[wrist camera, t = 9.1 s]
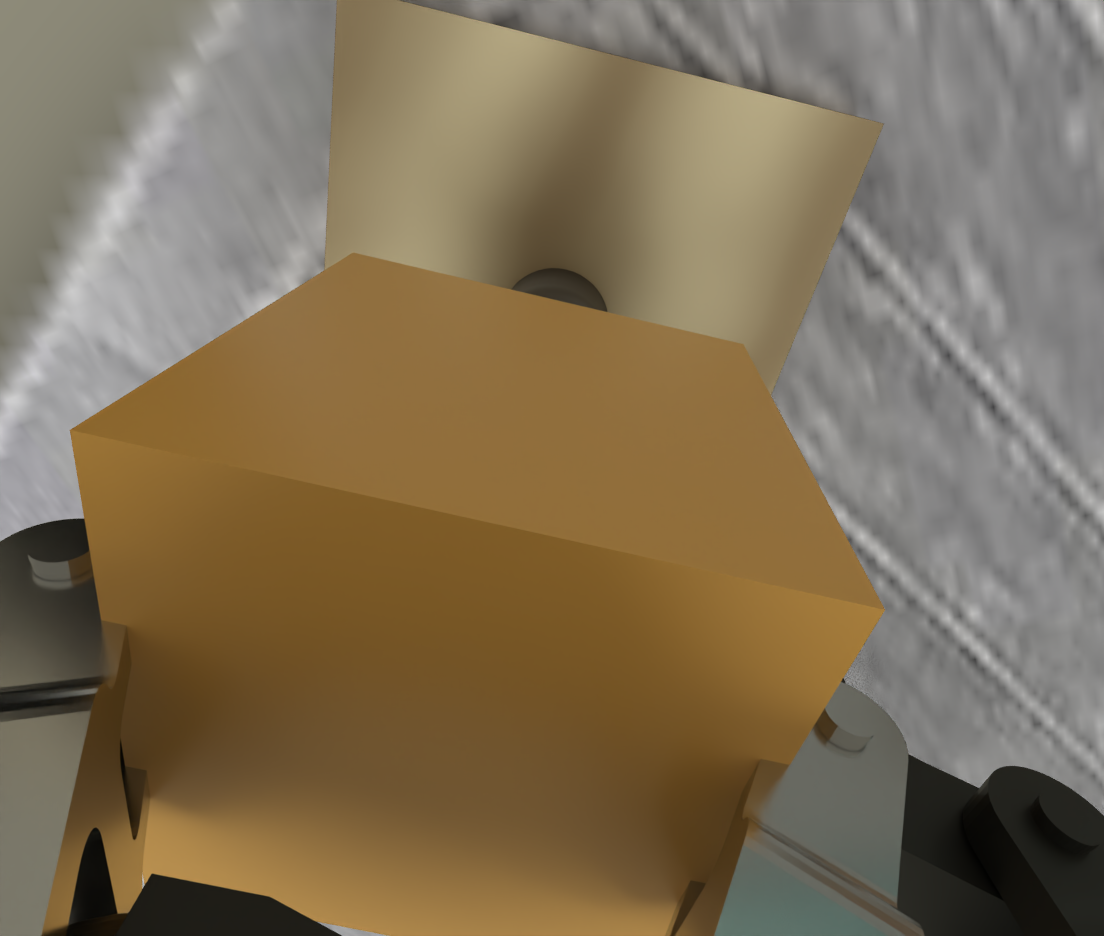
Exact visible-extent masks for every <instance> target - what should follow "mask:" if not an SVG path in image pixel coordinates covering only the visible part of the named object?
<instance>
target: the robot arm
mask: <svg viewBox="0 0 1104 936" xmlns="http://www.w3.org/2000/svg"><path fill="white" fill-rule="evenodd" d="M131 665H132V661H131V654H130V647H129V639H128V632H127V625H122V624H117V623H112V622H108V621H103V620H101V616H100V610H99V604H98V598H97V592H96V586H95V580H94V574H93V568H92V561H91V555H90V549H89V543H88V537H87V531H86V525H85V519H64V520H58V521H51V522H47V523H43V524H39V525H35V526H32V527H29V528H26V529H24V530H21V531H19V532H17V533H14V534H12V535H11V536H9V537H7V538H5V539H4V540H2V541H1V542H0V936H341V935H340V934H338V933H336V932H334V931H332V930H330V929H328V928H327V927H325V926H323V925H321V924H319V923H317V922H316V921H314V920H312V919H310V918H308V917H306V916H305V915H303V914H301V913H299V912H297V911H295V910H294V909H292V908H290V907H288V906H286V905H284V904H282V903H281V902H279V901H277V900H275V899H273V898H271V897H269V896H264V895H259V894H254V893H249V892H244V891H239V890H233V889H228V888H223V887H218V886H213V885H208V884H203V883H198V882H193V881H188V880H183V879H178V878H172V877H167V876H162V875H157V874H151V875H150V877H149V879H148V881H147V882H146V884H145V886H144V887H143V889H142V870H143V856H144V847H145V838H146V830H147V822H148V814H149V806H150V791H149V784H148V777H147V770H142V769H137V768H132V767H127V766H125V762H124V756H123V750H122V744H121V738H120V736H121V724H122V716H123V710H124V704H125V699H126V693H127V687H128V682H129V676H130V671H131ZM665 936H1104V816H1103V815H1102V814H1101V813H1100V812H1099V811H1098V810H1097V809H1096V808H1095V807H1094V806H1093V805H1091V804H1090V803H1089V802H1088V801H1087V800H1085V799H1084V798H1083V797H1081V796H1080V795H1079V794H1077V793H1076V792H1075V791H1073V790H1072V789H1070V788H1069V787H1067V786H1065V785H1064V784H1062V783H1061V782H1059V781H1057V780H1055V779H1053V778H1051V777H1049V776H1047V775H1045V774H1042V773H1040V772H1038V771H1035V770H1031V769H1028V768H1024V767H1018V766H1006V767H1001V768H999V769H997V770H995V771H994V772H993V773H992V774H991V775H990V776H989V778H988V779H987V780H986V781H985V782H984V783H983V785H982V786H981V787H980V788H977V787H975V786H973V785H971V784H969V783H967V782H965V781H963V780H960V779H958V778H956V777H954V776H952V775H950V774H948V773H946V772H944V771H941V770H939V769H937V768H935V767H933V766H931V765H929V764H927V763H924V762H922V761H920V760H918V759H917V758H915V757H913V756H911V755H909V754H908V749H907V746H906V742H905V740H904V738H903V735H902V733H901V732H900V730H899V728H898V727H897V725H896V724H895V722H894V721H893V720H892V719H891V717H890V716H889V715H888V714H887V713H886V712H885V711H884V710H883V709H882V708H881V707H880V706H879V705H878V704H877V703H875V702H874V701H873V700H872V699H870V698H869V697H868V696H866V695H865V694H863V693H862V692H860V691H859V690H857V689H855V688H853V687H852V686H849V685H847V684H846V683H845V681H844V678H843V679H842V681H841V682H840V684H839V686H838V687H837V689H836V691H835V692H834V694H833V695H832V697H831V699H830V700H829V702H828V704H827V705H826V707H825V708H824V710H823V712H822V713H821V715H820V717H819V718H818V720H817V722H816V723H815V725H814V726H813V728H812V730H811V731H810V733H809V735H808V736H807V738H806V739H805V741H804V743H803V744H802V746H801V748H800V749H799V751H798V753H797V754H796V756H795V757H794V759H793V761H792V762H791V764H790V765H788V764H783V763H778V762H773V761H769V760H764V759H760V761H759V763H758V764H757V766H756V768H755V770H754V771H753V773H752V775H751V777H750V778H749V780H748V782H747V784H746V785H745V787H744V789H743V791H742V793H741V796H740V799H739V802H738V805H737V808H736V811H735V814H734V816H733V819H732V822H731V825H730V828H729V831H728V834H727V837H726V839H725V842H724V845H723V847H722V850H721V852H720V855H719V857H718V859H717V862H716V864H715V866H714V868H713V871H712V873H711V875H710V877H709V879H708V881H707V883H702V882H697V881H692V880H691V881H690V882H689V884H688V886H687V888H686V889H685V891H684V893H683V894H682V896H681V898H680V900H679V901H678V903H677V906H676V908H675V911H674V913H673V916H672V919H671V921H670V924H669V926H668V929H667V932H666V934H665Z"/></svg>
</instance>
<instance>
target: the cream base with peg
mask: <svg viewBox="0 0 1104 936" xmlns="http://www.w3.org/2000/svg"><path fill="white" fill-rule="evenodd" d="M883 125H884V124H883V123H879V122H875V121H871V120H867V119H863V118H859V117H855V116H852V115H848V114H844V113H840V112H836V111H832V110H828V109H824V108H820V107H816V106H812V105H808V104H804V103H800V102H797V101H793V100H789V99H785V98H781V97H777V96H773V95H769V94H765V93H761V92H757V91H753V90H749V89H745V88H742V87H738V86H734V85H730V84H726V83H722V82H718V81H714V80H710V79H706V78H702V77H698V76H694V75H690V74H686V73H683V72H679V71H675V70H671V69H667V68H663V67H659V66H655V65H651V64H647V63H643V62H639V61H635V60H631V59H628V58H624V57H620V56H616V55H612V54H608V53H604V52H600V51H596V50H592V49H588V48H584V47H580V46H576V45H573V44H569V43H565V42H561V41H557V40H553V39H549V38H545V37H541V36H537V35H533V34H529V33H525V32H521V31H517V30H514V29H510V28H506V27H502V26H498V25H494V24H490V23H486V22H482V21H478V20H474V19H470V18H466V17H462V16H459V15H455V14H451V13H447V12H443V11H439V10H435V9H431V8H427V7H423V6H419V5H415V4H411V3H407V2H404V1H400V0H337V10H336V32H335V53H334V75H333V96H332V118H331V139H330V161H329V182H328V204H327V225H326V247H325V268H324V270H326V269H327V268H329V267H331V266H332V265H334V264H335V263H337V262H339V261H340V260H342V259H343V258H345V257H347V256H348V255H350V254H351V253H358V254H362V255H366V256H370V257H375V258H379V259H383V260H388V261H392V262H396V263H400V264H405V265H409V266H413V267H417V268H422V269H426V270H430V271H434V272H439V273H443V274H447V275H451V276H456V277H460V278H464V279H468V280H473V281H477V282H481V283H485V284H490V285H494V286H498V287H502V288H507V289H511V290H515V291H519V292H524V293H528V294H532V295H536V296H541V297H545V298H549V299H553V300H558V301H562V302H566V303H570V304H575V305H579V306H583V307H587V308H592V309H596V310H600V311H604V312H609V313H613V314H617V315H622V316H626V317H630V318H634V319H639V320H643V321H647V322H651V323H656V324H660V325H664V326H668V327H673V328H677V329H681V330H685V331H690V332H694V333H698V334H702V335H707V336H711V337H715V338H719V339H724V340H728V341H732V342H736V343H741V344H744V346H745V348H746V350H747V352H748V354H749V356H750V358H751V359H752V361H753V363H754V365H755V367H756V369H757V371H758V373H759V374H760V376H761V378H762V380H763V382H764V384H765V386H766V388H767V389H768V391H769V393H770V395H771V394H772V391H773V389H774V387H775V384H776V382H777V379H778V377H779V375H780V372H781V370H782V367H783V365H784V363H785V360H786V358H787V355H788V353H789V351H790V348H791V346H792V343H793V341H794V339H795V336H796V334H797V331H798V329H799V327H800V324H801V322H802V319H803V317H804V315H805V312H806V310H807V307H808V305H809V303H810V300H811V298H812V295H813V293H814V291H815V288H816V286H817V283H818V281H819V279H820V276H821V274H822V271H823V269H824V266H825V264H826V262H827V259H828V257H829V254H830V252H831V250H832V247H833V245H834V242H835V240H836V238H837V235H838V233H839V230H840V228H841V226H842V223H843V221H844V218H845V216H846V214H847V211H848V209H849V206H850V204H851V202H852V199H853V197H854V194H855V192H856V190H857V187H858V185H859V182H860V180H861V178H862V175H863V173H864V170H865V168H866V166H867V163H868V161H869V158H870V156H871V154H872V151H873V149H874V146H875V144H876V141H877V139H878V137H879V134H880V132H881V129H882V127H883Z"/></svg>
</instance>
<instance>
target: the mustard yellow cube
mask: <svg viewBox="0 0 1104 936" xmlns="http://www.w3.org/2000/svg"><path fill="white" fill-rule="evenodd" d="M70 434H71V440H72V446H73V452H74V458H75V464H76V470H77V476H78V482H79V489H80V495H81V501H82V507H83V513H84V519H85V525H86V531H87V537H88V543H89V549H90V555H91V561H92V568H93V574H94V580H95V586H96V592H97V598H98V604H99V610H100V616H101V620H103V621H108V622H112V623H117V624H122V625H127V632H128V639H129V647H130V654H131V661H132V665H131V671H130V676H129V682H128V687H127V693H126V699H125V704H124V710H123V716H122V724H121V736H120V738H121V744H122V750H123V756H124V762H125V766H127V767H132V768H137V769H142V770H147V777H148V784H149V791H150V806H149V814H148V822H147V830H146V838H145V847H144V856H143V870H142V872H143V878H144V884H146V882H147V881H148V879H149V877H150V875H151V874H157V875H162V876H167V877H172V878H178V879H183V880H188V881H193V882H198V883H203V884H208V885H213V886H218V887H223V888H228V889H233V890H239V891H244V892H249V893H254V894H259V895H264V896H269V897H271V898H273V899H275V900H277V901H279V902H281V903H282V904H284V905H286V906H288V907H290V908H292V909H294V910H295V911H297V912H299V913H301V914H303V915H305V916H306V917H308V918H310V919H312V920H314V921H317V922H322V923H327V924H332V925H337V926H342V927H348V928H353V929H358V930H363V931H368V932H373V933H378V934H384V935H389V936H665V934H666V932H667V929H668V926H669V924H670V921H671V919H672V916H673V913H674V911H675V908H676V906H677V903H678V901H679V900H680V898H681V896H682V894H683V893H684V891H685V889H686V888H687V886H688V884H689V882H690V881H691V880H692V881H697V882H702V883H707V881H708V879H709V877H710V875H711V873H712V871H713V868H714V866H715V864H716V862H717V859H718V857H719V855H720V852H721V850H722V847H723V845H724V842H725V839H726V837H727V834H728V831H729V828H730V825H731V822H732V819H733V816H734V814H735V811H736V808H737V805H738V802H739V799H740V796H741V793H742V791H743V789H744V787H745V785H746V784H747V782H748V780H749V778H750V777H751V775H752V773H753V771H754V770H755V768H756V766H757V764H758V763H759V761H760V759H764V760H769V761H773V762H778V763H783V764H788V765H790V764H791V762H792V761H793V759H794V757H795V756H796V754H797V753H798V751H799V749H800V748H801V746H802V744H803V743H804V741H805V739H806V738H807V736H808V735H809V733H810V731H811V730H812V728H813V726H814V725H815V723H816V722H817V720H818V718H819V717H820V715H821V713H822V712H823V710H824V708H825V707H826V705H827V704H828V702H829V700H830V699H831V697H832V695H833V694H834V692H835V691H836V689H837V687H838V686H839V684H840V682H841V681H842V679H843V678H844V676H845V674H846V673H847V671H848V669H849V668H850V666H851V664H852V663H853V661H854V660H855V658H856V656H857V655H858V653H859V651H860V650H861V648H862V647H863V645H864V643H865V642H866V640H867V638H868V637H869V635H870V633H871V632H872V630H873V629H874V627H875V625H876V624H877V622H878V620H879V619H880V617H881V616H882V614H883V612H884V611H885V609H884V607H883V605H882V603H881V601H880V600H879V598H878V596H877V594H876V592H875V590H874V588H873V586H872V584H871V583H870V581H869V579H868V577H867V575H866V573H865V571H864V569H863V568H862V566H861V564H860V562H859V560H858V558H857V556H856V554H855V553H854V551H853V549H852V547H851V545H850V543H849V541H848V539H847V538H846V536H845V534H844V532H843V530H842V528H841V526H840V524H839V523H838V521H837V519H836V517H835V515H834V513H833V511H832V509H831V508H830V506H829V504H828V502H827V500H826V498H825V496H824V494H823V493H822V491H821V489H820V487H819V485H818V483H817V481H816V479H815V478H814V476H813V474H812V472H811V470H810V468H809V466H808V464H807V463H806V461H805V459H804V457H803V455H802V453H801V451H800V449H799V448H798V446H797V444H796V442H795V440H794V438H793V436H792V434H791V433H790V431H789V429H788V427H787V425H786V423H785V421H784V419H783V418H782V416H781V414H780V412H779V410H778V408H777V406H776V404H775V403H774V401H773V399H772V397H771V395H770V393H769V391H768V389H767V388H766V386H765V384H764V382H763V380H762V378H761V376H760V374H759V373H758V371H757V369H756V367H755V365H754V363H753V361H752V359H751V358H750V356H749V354H748V352H747V350H746V348H745V346H744V344H741V343H736V342H732V341H728V340H724V339H719V338H715V337H711V336H707V335H702V334H698V333H694V332H690V331H685V330H681V329H677V328H673V327H668V326H664V325H660V324H656V323H651V322H647V321H643V320H639V319H634V318H630V317H626V316H622V315H617V314H613V313H609V312H604V311H600V310H596V309H592V308H587V307H583V306H579V305H575V304H570V303H566V302H562V301H558V300H553V299H549V298H545V297H541V296H536V295H532V294H528V293H524V292H519V291H515V290H511V289H507V288H502V287H498V286H494V285H490V284H485V283H481V282H477V281H473V280H468V279H464V278H460V277H456V276H451V275H447V274H443V273H439V272H434V271H430V270H426V269H422V268H417V267H413V266H409V265H405V264H400V263H396V262H392V261H388V260H383V259H379V258H375V257H370V256H366V255H362V254H358V253H351V254H350V255H348V256H347V257H345V258H343V259H342V260H340V261H339V262H337V263H335V264H334V265H332V266H331V267H329V268H327V269H326V270H324V271H323V272H321V273H320V274H318V275H316V276H315V277H313V278H312V279H310V280H308V281H307V282H305V283H304V284H302V285H300V286H299V287H297V288H296V289H294V290H292V291H291V292H289V293H288V294H286V295H284V296H283V297H281V298H280V299H278V300H276V301H275V302H273V303H272V304H270V305H269V306H267V307H265V308H264V309H262V310H261V311H259V312H257V313H256V314H254V315H253V316H251V317H249V318H248V319H246V320H245V321H243V322H241V323H240V324H238V325H237V326H235V327H233V328H232V329H230V330H229V331H227V332H225V333H224V334H222V335H221V336H219V337H218V338H216V339H214V340H213V341H211V342H210V343H208V344H206V345H205V346H203V347H202V348H200V349H198V350H197V351H195V352H194V353H192V354H190V355H189V356H187V357H186V358H184V359H182V360H181V361H179V362H178V363H176V364H174V365H173V366H171V367H170V368H168V369H166V370H165V371H163V372H162V373H160V374H159V375H157V376H155V377H154V378H152V379H151V380H149V381H147V382H146V383H144V384H143V385H141V386H139V387H138V388H136V389H135V390H133V391H131V392H130V393H128V394H127V395H125V396H123V397H122V398H120V399H119V400H117V401H115V402H114V403H112V404H111V405H109V406H108V407H106V408H104V409H103V410H101V411H100V412H98V413H96V414H95V415H93V416H92V417H90V418H88V419H87V420H85V421H84V422H82V423H80V424H79V425H77V426H76V427H74V428H72V429H71V430H70Z"/></svg>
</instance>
